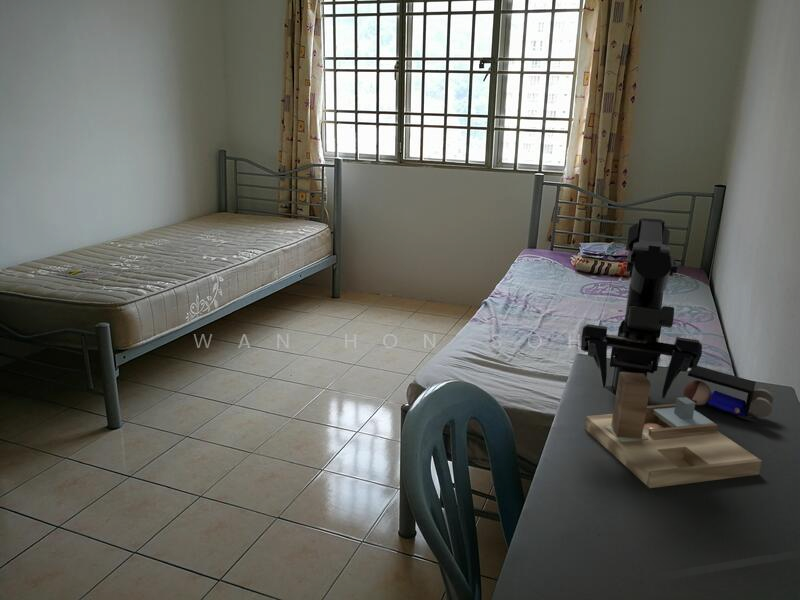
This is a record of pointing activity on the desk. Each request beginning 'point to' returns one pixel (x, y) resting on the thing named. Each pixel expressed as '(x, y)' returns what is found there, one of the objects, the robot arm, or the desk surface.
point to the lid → (681, 414)
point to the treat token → (652, 426)
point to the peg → (630, 405)
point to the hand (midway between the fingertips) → (633, 392)
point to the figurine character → (702, 394)
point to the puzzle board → (675, 451)
